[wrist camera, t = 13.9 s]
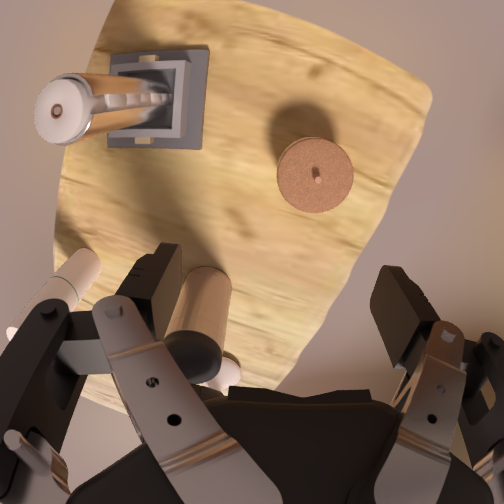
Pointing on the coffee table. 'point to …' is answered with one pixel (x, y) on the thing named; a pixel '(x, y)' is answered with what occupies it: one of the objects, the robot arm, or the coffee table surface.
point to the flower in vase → (225, 375)
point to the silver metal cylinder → (97, 105)
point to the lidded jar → (314, 174)
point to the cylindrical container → (64, 284)
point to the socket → (184, 98)
